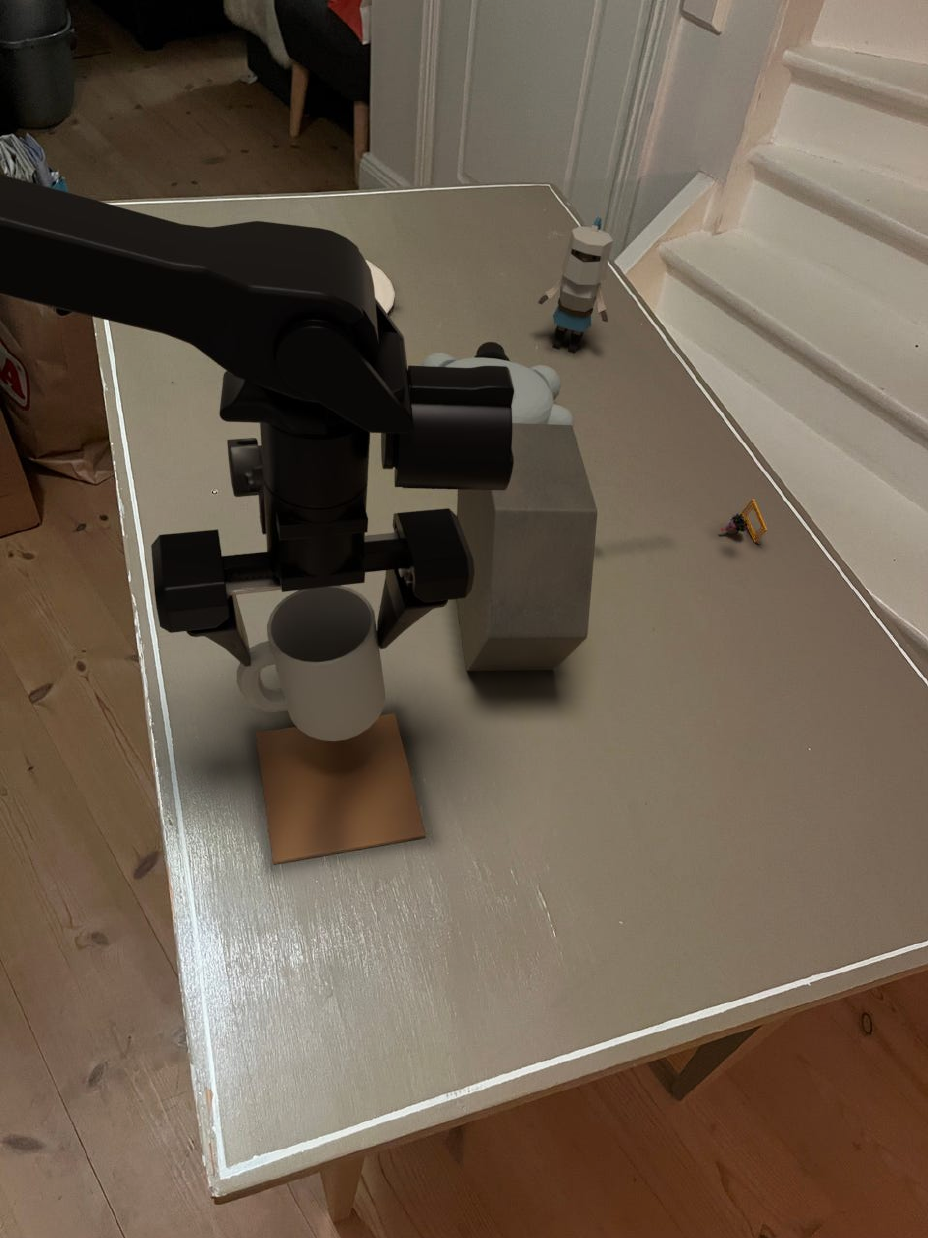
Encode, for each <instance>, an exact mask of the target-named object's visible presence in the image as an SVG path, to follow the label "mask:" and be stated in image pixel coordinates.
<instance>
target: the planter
mask: <svg viewBox="0 0 928 1238" xmlns="http://www.w3.org/2000/svg"><path fill="white" fill-rule="evenodd" d="M512 453H513V457H514V465H513V471H512V475H511V479H510V482H509V485H508V487H507V488H506V490H461V489H457V500H456V501H457V502H456V516H457V517H458V520H459V522H460V525H461V528H462V530H463V533H464V536H465V538H466V541H467V544H468V546H469V549H470V552H471V554H472V557H473V560H474V571H475V574H474V579H473V585H472V590H471V592H470V593H469V594H468V595H467V596H466V598H460V599H455V600H456V607H457V614H458V620H459V627H460V628H459V629H460V633H461V634H460V635H461V642H462V649H463V650H462V651H463V656H464V657H463V658H464V663H465V669H466V671H467V672H496V671H498V672H505V671H506V672H507V671H509V672H510V671H515V672H516V671H555V670H556V669H557V668H558V667H559V666H561V664H562V663H563V662H565V660H567V658H568V657H570V655H571V654H572V653H574V652H575V650H577V649H578V647H579V646H580V645H582V644H583V643H584V641H586V640H587V638H588V634H589V633H588V632H589V621H590V620H589V619H590V609H591V597H592V584H593V572H594V561H595V559H594V558H595V548H596V535H597V524H598V523H597V522H598V508H597V505H596V501H595V498H594V494H593V491H592V488H591V485H590V480H589V477H588V474H587V470H586V468H585V464H584V461H583V457H582V454H581V451H580V448H579V444H578V440H577V437H576V433H575V430H574V426H573V427H572V426H571V425H555V424H524V423H512Z"/></svg>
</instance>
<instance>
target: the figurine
mask: <svg viewBox="0 0 928 1238" xmlns="http://www.w3.org/2000/svg"><path fill="white" fill-rule="evenodd" d="M420 366H433V367H456V368H473V367H479V366H507V367H508V368H509V370H510V374H511V378H512V382H513V386H514V396H513V402H512V423H524V424H555V425H571V426H572V427H573V428H574V422H575V421H574V417H573V414H572V412H571V411H570V410H569V409H567V408H566V407H564V406H561V405H559V404H556V403H555V400H556V399H557V397H558V396H559V394H560V392H561V391H560V389H561V378H560V376H559V374H558V373H557V372H556V370H555V369H553V368H551V367H550V366H547V365H545V364H542V365H541V364H538V365H534V366H531V367H527V366H525V365H523V364H520V363H516V362H514V361H511V359H510V358H509V356H507V354H506V352H505V350H504V347H503V346H502V345H501V344H500V343H497V342H496V341H486V342H484V343H482V344H481V345H480V346H479V347H478V348H477V350H476V353H475V356H474V357H467V358H461V359H458V360H457V358H455V357H453V356H452V355H451V354H448V353H446V352H434V353H432V354H430V355H428V356H426V357H425V359H424V360H423V361H422V362H421V365H420Z"/></svg>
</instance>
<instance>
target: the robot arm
mask: <svg viewBox="0 0 928 1238" xmlns="http://www.w3.org/2000/svg"><path fill="white" fill-rule="evenodd" d="M365 260H366V259H365V257H364V256H363V254H362V252H361V251H360V248H359V247H358V245H356V244H355V243H354V242H353V241H352V240H350V239H349V238H348V237H346V236H345V235H341V234H339V233H337V232H335V231H334V230H330V229H325V228H321V227H313V226H305V225H297V224H288V223H279V222H271V221H264V220H263V221H261V220H253V221H246V222H238V223H233V224H226V225H225V224H224V225H219V226H200V225H193V224H184V223H179V222H175V221H172V220H168V219H164V218H161V217H158V216H153V215H150V214H147V213H143V212H139V211H135V210H132V209H128V208H125V207H121V206H118V205H115V204H110V203H107V202H104V201H99V200H96V199H92V198H90V197H86V196H82V195H78V194H74V193H72V192H71V193H70V192H67V191H63V190H60V189H56V188H52V187H49V186H46V185H42V184H38V183H35V182H31V181H29V180H28V181H27V180H24V179H20V178H18V177H17V178H16V177H13V176H10V175H6V174H2V173H0V296H3V297H7V298H12V299H17V300H19V301H25V302H29V303H33V304H38V305H41V306H46V307H50V308H54V309H58V310H62V311H66V312H71V313H75V314H79V315H84V316H87V317H90V318H91V317H92V318H95V319H100V320H105V321H109V322H113V323H116V324H121V325H125V326H129V327H133V328H137V329H143V330H147V331H151V332H155V333H160V334H163V335H166V336H169V337H170V338H171V337H172V338H174V339H177V340H179V341H182V342H183V343H186V344H189V345H191V346H193V347H194V348H195V349H197V350H198V351H200V352H201V353H202V354H203V355H204V356H206V357H208V358H209V359H210V360H212V362H214V363H216V364H217V365H218V366H220V367H221V368H222V369H224V370H225V372H224V373H223V377H222V385H221V395H220V404H219V414H218V415H219V417H220V419H221V420H222V421H224V422H227V423H252V424H253V423H254V424H255V423H257V424H259V429H260V444H261V445H259V440H258V439H257V437H249V438H235V439H227V440H226V443H227V456H228V465H229V476H230V483H231V484H230V485H231V488H232V494H233V497H235V498H242V497H244V498H245V497H254V496H258V507H259V521H260V522H259V523H260V528H261V534H262V535H265V538H266V539H265V540H266V551H259V552H249V553H239V554H230V555H222V548H221V542H220V541H221V539H220V532H219V529H206V530H198V531H187V532H176V533H164V534H159V535H158V536H157V537H156V539H155V540H154V541H153V542H152V544H151V560H152V561H151V563H152V576H153V577H152V578H153V589H154V598H155V608H156V612H157V613H156V614H157V617H158V623H159V627H160V628H162V629H163V630H165V631H166V632H168V633H170V634H174V633H181V632H182V633H183V632H185V633H186V634H187V635H189V637H193V638H200V637H205V638H207V639H208V640H210V641H212V642H213V643H215V644H217V645H218V646H220V647H222V648H223V649H224V650H226V651H227V652H228V653H230V654H231V655H232V656H233V658H235V659H236V660H237V661H238V662H239V663H240V662H241V663H242V664H243V665H244V666H245V667H248V666H251V656H250V644H249V643H250V642H249V637H248V633H247V631H246V627H245V623H244V620H243V615H242V612H241V609H240V605H239V601H238V597H237V596H238V595H245V594H254V593H264V592H274V591H281V592H282V593H285V592H294V591H295V592H296V591H298V590H305V589H314V588H323V587H332V586H348V585H350V586H351V585H356V584H357V585H358V584H364V583H365V582H366V573H373V572H383V571H385V577H384V582H383V589H382V593H381V599H380V604H379V610H378V614H377V622H376V628H377V635H378V643H379V650H384V649H387V648H388V647H389V646H390V645H391V644H392V643H393V642H394V641H396V639H398V638H399V637H400V636H401V635H402V634H403V633H404V632H405V631H406V630H407V629H409V628H410V627H411V626H412V625H414V624H415V623H417V622H418V621H419V620H420V619H422V618H423V617H424V616H426V615H427V614H429V613H430V612H431V611H433V610H435V609H441V608H443V607H446V606H447V604H448V603H449V601H451V600H456V599H460V598H466V596H467V595H468V594H469V593H470V592H471V590H472V585H473V579H474V574H475V571H474V560H473V557H472V554H471V552H470V549H469V546H468V544H467V541H466V538H465V536H464V533H463V530H462V528H461V525H460V522H459V520H458V517H457V514H456V513H454V511H452V510H451V509H450V508H449V507H446V508H435V509H425V510H415V511H403V512H396V513H395V512H394V513H393V517H392V528H393V532H388V533H378V534H367V535H366V533H368V529H369V516H368V513H367V501H368V485H369V483H368V482H369V463H370V445H371V444H370V443H371V434H380V456H381V457H380V458H381V467H382V468H381V469H382V470H394V475H393V476H394V479H393V481H394V482H393V484H394V488H402V489H416V490H417V489H419V490H420V489H422V490H458V489H461V490H506V488H507V487H508V485H509V482H510V479H511V475H512V471H513V465H514V457H513V453H512V402H513V396H514V386H513V382H512V378H511V374H510V370H509V368H508V367H507V366H479V367H473V368H456V367H433V366H421V365H411V364H410V365H408V363H407V360H408V359H407V352H406V344H405V343H406V342H405V337H404V335H403V333H402V332H401V330H400V329H399V328H398V327H397V325H396V324H395V322H394V321H393V320H392V318H391V317H390V316H389V313H388V314H387V313H386V312H385V310H384V309H383V308H382V306H381V305H380V304H379V302H378V301H377V300H376V298H375V289H374V283H373V278H372V273H371V269H370V267H369V266H368V264H367V262H366V261H365Z"/></svg>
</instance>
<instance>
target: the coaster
mask: <svg viewBox="0 0 928 1238" xmlns="http://www.w3.org/2000/svg"><path fill="white" fill-rule="evenodd" d="M255 738H256V746H257V752H258V761H259V769H260V775H261V777H260V778H261V784H262V791H263V798H264V805H265V806H264V807H265V813H266V820H267V829H268V835H269V836H268V837H269V843H270V844H269V845H270V851H271V858H272V865H276V864H277V865H278V864H284V863H290V862H295V861H300V860H306V859H311V858H317V857H324V856H329V855H335V854H341V853H345V852H352V851H357V850H362V849H368V848H375V847H379V846H385V845H392V844H396V843H403V842H408V841H409V842H410V841H413V840H414V841H415V840H421V839H425V838H426V830H425V828H424V827H425V826H424V822H423V819H422V814H421V810H420V807H419V802H418V798H417V795H416V791H415V787H414V782H413V780H412V775H411V771H410V766H409V763H408V759H407V755H406V751H405V747H404V743H403V739H402V735H401V731H400V727H399V722H398V719H397V715H396V713H395V712H393V713H386V714H380V716H379V718H378V719H377V720H376V721H375V722H374V724H373V725H372V726H371V727H370V728H368V729H367V730H365V731H364V732H362V733H361V734H359V735H357V736H355V737H352V738H349V739H347V740H339V741H325V740H319V739H316V738H313V737H310V736H308V735H306V734H305V733H303V732H302V731H300V730H299V729H298V728H297V727H296V726H293V727H287V728H280V729H272V730H266V731H265V730H264V731H258V732H257V731H256V732H255Z"/></svg>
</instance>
